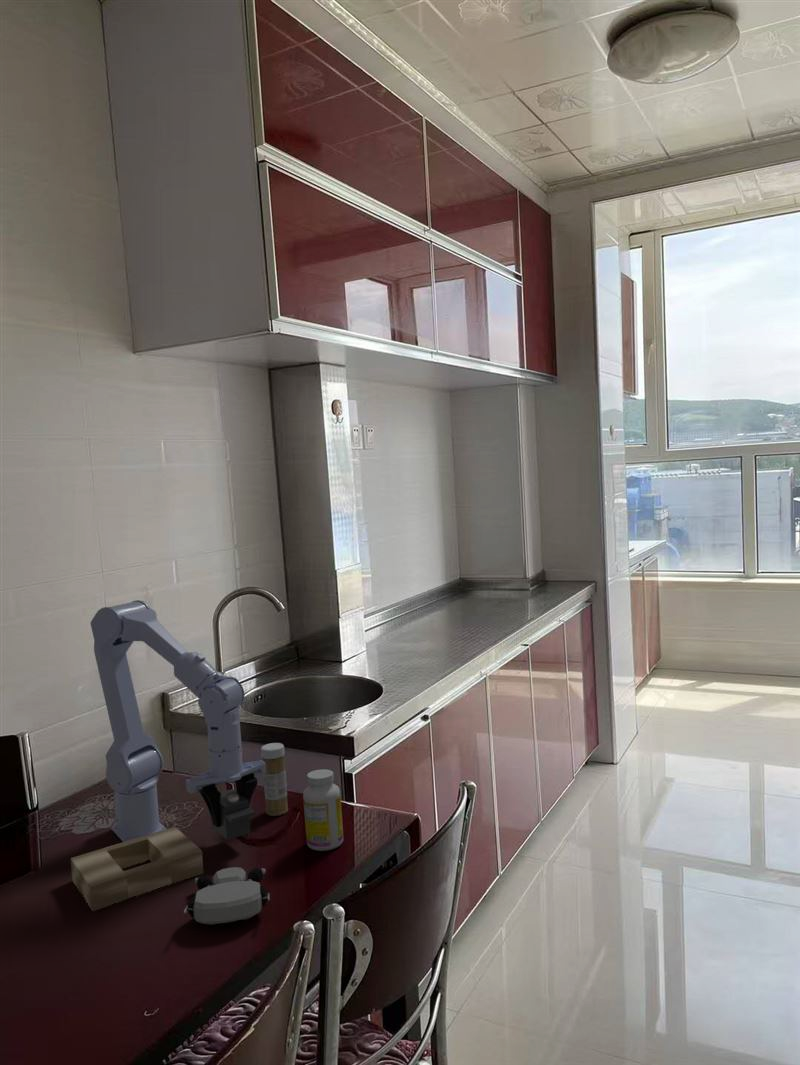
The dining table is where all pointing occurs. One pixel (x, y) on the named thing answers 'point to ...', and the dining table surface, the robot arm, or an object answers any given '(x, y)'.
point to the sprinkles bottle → (274, 779)
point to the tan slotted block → (111, 884)
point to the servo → (233, 815)
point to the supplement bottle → (322, 811)
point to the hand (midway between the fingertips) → (230, 821)
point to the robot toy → (228, 896)
